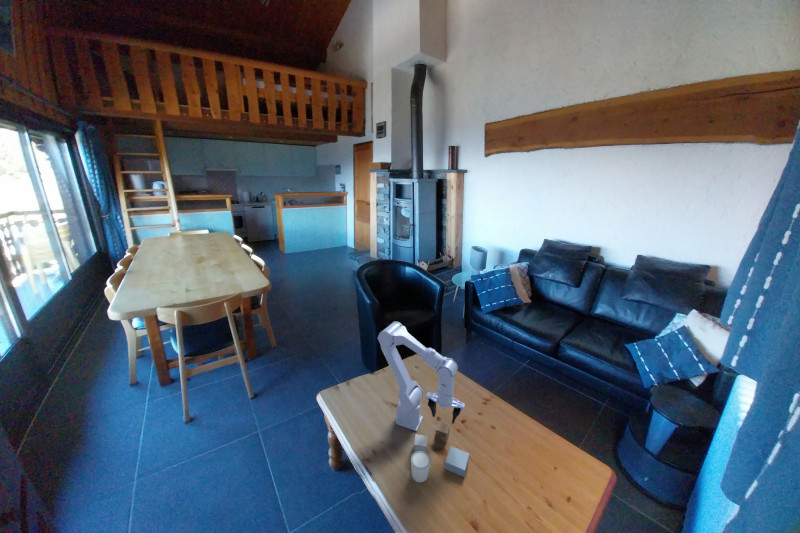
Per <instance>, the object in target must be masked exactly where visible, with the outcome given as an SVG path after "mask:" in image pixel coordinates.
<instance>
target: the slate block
mask: <svg viewBox="0 0 800 533" xmlns="http://www.w3.org/2000/svg"><path fill="white" fill-rule="evenodd" d="M469 460H470V453H469V452H466V451H464V450H462V449H459V448H456V447H455V446H451V445H450V448H449V450H448V453H447V456H446V459H445V462H444V469H445V470H447V471H449V472H451V473H454V474H456V475H459V476H461V477H465V476H466V475H465V474H466V472H467V468H468V463H469Z"/></svg>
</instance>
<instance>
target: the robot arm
mask: <svg viewBox="0 0 800 533" xmlns="http://www.w3.org/2000/svg"><path fill="white" fill-rule="evenodd" d="M377 340H378V343H379V344H380V349H381V351H382V354H383V355H384V357H385V359H386V362H387V364H388V365H389V368H390V369H391V372H392V374H393V376H394V378H395V380H396V382H397V385H398V387H399V389H398V395H397V396H398V398H399V401H398V403H397V406H396V421H395V424H396V425H397V426H398V425H399V426H401V427H404V428H405V429H409V430H412V431H415V432H417V431H418V430H419V427H420V425H421V423H422V421H423V419H424V416H423V415H421V399H422V398H423V397H424V395H425V394H424V389H423V387H421V386H420V385H419V383H418V382H417V381H415V380H412V379H411V376H410V374H409V372H408V370H407V368H406V366H405V363H404V362H403V360H402V357H401V355H400V353H399V351H398V349H397V347H396V346H400V345H401V346H402V345H404V346H405V347H407V348H409V349H410V350H411V351H413V352H414V353H416V354H417V355H419V356H420V358H421V361H422V362H424V363H425V364H426V365H427V366H428V367H431V369H432V370H434V371H435V372H436V376H437V377H438V389H437V392H428V391H427V393H426V395H425V400H427V401H428V402H427V406H428V407H429V410H430V411H431V414H432V416H431V417H433V418H435V416H436V414H437V405H439V408H441V409H444V410H445V409H446V408H453V410H452V420H451V424H455V421H456V419H457V418H458V416H460V414H461V412H464V411H465V405H466V404H465V403H464V402H463V401H460V400H458V399H457V398H455V397H454V392H455V391H454V390H455V380H456V378H455V377H456V373H457V371H458V368H459V366H458V363H457V362H456V360H454V359H453V358H450V357H446V356H443V355H442V354H440V353H439V352H437V351H436V349H434V348H432V347H426V346H425V345H423V344H422V343H421V342H420V341H418V340H417V338H415V337H414V336H412V334H410V333H409V332H408V330H407V327H406V326H405V325H403V324H402V323H401V322H399V321H393V322H391V323H390V324H389V325H388V326H387V327H386V328H384V329H383V330H381V331H380V332H379V334H378V336H377Z"/></svg>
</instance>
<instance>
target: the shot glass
mask: <svg viewBox="0 0 800 533" xmlns="http://www.w3.org/2000/svg"><path fill="white" fill-rule="evenodd" d="M430 466H431V457H430V455H429V454H428V453H427V452H426V453H425V452H423V451H417V452H415V453H414V452H413V453H412V454H411V457H410V467H411V477H412V479H413V480H414V481H415V482H416V483H423V482H426V480H428V477H429V473H430V472H429V471H430Z"/></svg>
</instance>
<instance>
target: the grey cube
mask: <svg viewBox="0 0 800 533" xmlns="http://www.w3.org/2000/svg"><path fill="white" fill-rule="evenodd" d="M414 436H415V437H414V443H413V453H415V452H417V451H423V452H425V453H427V447H428V435H424V434H415V435H414Z"/></svg>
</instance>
